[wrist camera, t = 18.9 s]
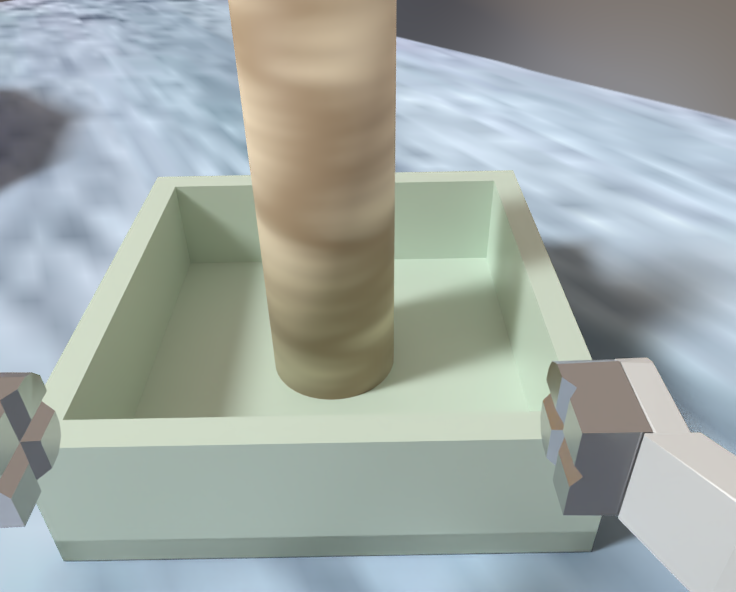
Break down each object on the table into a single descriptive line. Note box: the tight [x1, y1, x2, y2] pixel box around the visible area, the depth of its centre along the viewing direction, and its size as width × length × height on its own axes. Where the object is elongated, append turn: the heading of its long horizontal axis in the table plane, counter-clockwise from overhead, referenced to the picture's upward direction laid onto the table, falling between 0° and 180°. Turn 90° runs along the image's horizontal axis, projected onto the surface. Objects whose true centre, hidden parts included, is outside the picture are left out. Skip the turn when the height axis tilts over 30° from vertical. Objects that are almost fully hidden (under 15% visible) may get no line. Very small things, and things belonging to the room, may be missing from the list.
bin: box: [36, 170, 601, 561], centre depth 26 cm, size 16×16×5 cm
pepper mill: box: [228, 0, 396, 400], centre depth 22 cm, size 5×5×16 cm
